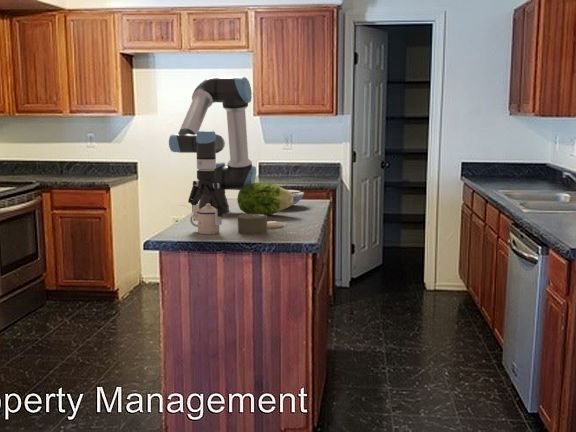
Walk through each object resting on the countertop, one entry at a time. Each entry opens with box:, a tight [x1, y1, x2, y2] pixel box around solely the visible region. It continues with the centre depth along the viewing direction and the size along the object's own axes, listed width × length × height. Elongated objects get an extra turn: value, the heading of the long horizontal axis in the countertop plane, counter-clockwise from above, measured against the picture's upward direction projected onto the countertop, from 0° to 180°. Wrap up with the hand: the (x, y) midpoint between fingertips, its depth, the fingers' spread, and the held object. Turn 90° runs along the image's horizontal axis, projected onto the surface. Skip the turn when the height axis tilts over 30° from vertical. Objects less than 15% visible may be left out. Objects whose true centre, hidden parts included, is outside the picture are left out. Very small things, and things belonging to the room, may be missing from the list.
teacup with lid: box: [189, 204, 220, 235], centre depth 249 cm, size 12×9×12 cm
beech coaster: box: [267, 220, 284, 229], centre depth 264 cm, size 10×10×1 cm
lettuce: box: [237, 182, 293, 216], centre depth 289 cm, size 15×27×16 cm, turn 78°
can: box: [237, 213, 268, 236], centre depth 250 cm, size 12×12×7 cm
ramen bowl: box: [287, 189, 307, 206], centre depth 315 cm, size 25×23×8 cm
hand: (207, 222), depth 250 cm, fingers open, 13 cm apart
